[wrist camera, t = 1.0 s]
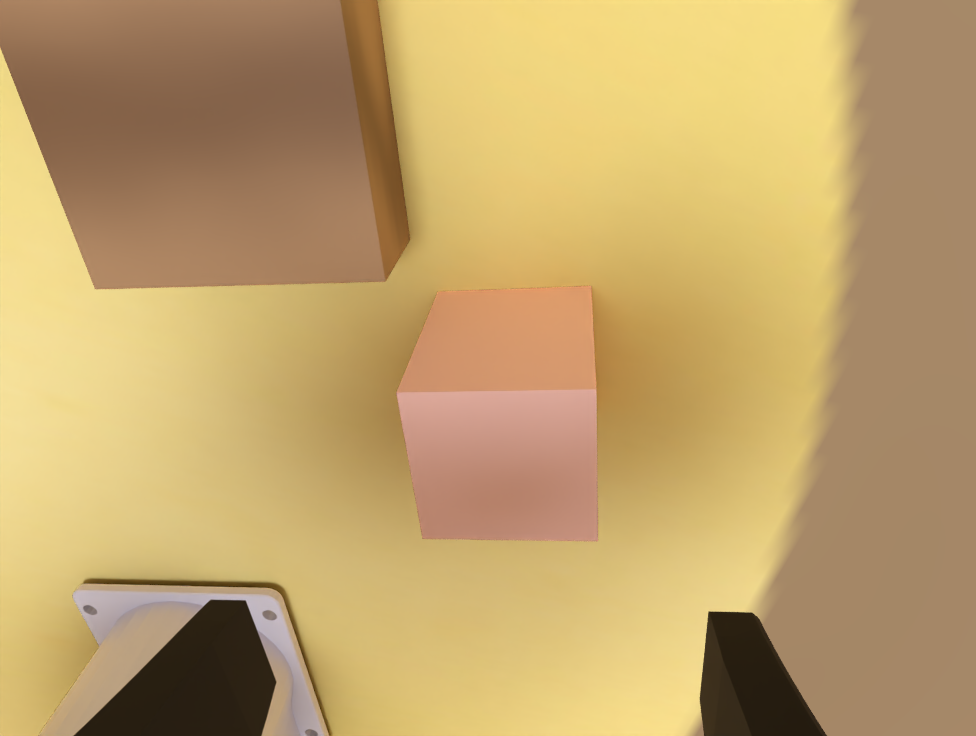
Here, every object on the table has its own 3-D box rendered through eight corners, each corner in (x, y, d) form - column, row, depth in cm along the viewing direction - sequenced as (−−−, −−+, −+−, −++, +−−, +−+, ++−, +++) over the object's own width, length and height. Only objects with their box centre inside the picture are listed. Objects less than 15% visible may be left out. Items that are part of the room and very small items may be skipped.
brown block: (412, 234, 18) (385, 281, 15) (160, 243, 19) (95, 289, 16) (369, -89, 14) (324, -99, 12) (61, -59, 15) (-43, -62, 13)
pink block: (592, 414, 20) (597, 541, 15) (454, 416, 20) (422, 538, 16) (591, 285, 18) (596, 389, 13) (438, 290, 18) (396, 392, 14)
